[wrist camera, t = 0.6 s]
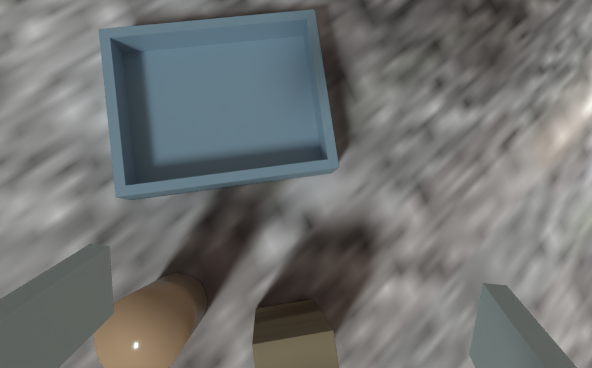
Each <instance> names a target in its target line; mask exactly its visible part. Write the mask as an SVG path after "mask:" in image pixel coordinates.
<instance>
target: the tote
mask: <svg viewBox="0 0 592 368" xmlns="http://www.w3.org/2000/svg"><path fill="white" fill-rule="evenodd" d="M99 37H100V47H101V56H102V66H103V76H104V86H105V96H106V105H107V115H108V125H109V135H110V145H111V154H112V164H113V174H114V184H115V194H116V197H117V198H123V199H129V200H135V199H142V198H150V197H157V196H165V195H172V194H180V193H187V192H195V191H202V190H210V189H217V188H224V187H232V186H239V185H247V184H254V183H262V182H269V181H277V180H284V179H292V178H299V177H307V176H314V175H321V174H329V173H333V172H334V171H335V170H337V169H338V168H339V163H338V157H337V151H336V144H335V138H334V131H333V125H332V118H331V112H330V105H329V99H328V92H327V86H326V79H325V73H324V67H323V60H322V54H321V47H320V41H319V34H318V28H317V21H316V15H315V9H311V10H301V11H290V12H279V13H268V14H258V15H247V16H236V17H225V18H215V19H204V20H193V21H182V22H171V23H161V24H150V25H139V26H128V27H118V28H107V29H99Z"/></svg>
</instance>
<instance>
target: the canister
mask: <svg viewBox="0 0 592 368" xmlns="http://www.w3.org/2000/svg"><path fill="white" fill-rule="evenodd" d="M113 306H114V314H113V315H112V316H111V317H110V318H109V319H108V320H107V321H106V322H105V323H104V324H103V325H102V326H101V327H100V328H99V329H98V330H97V331H96V332H95V349H96V353H97V356H98V358H99V361H100V362H101V364H102V365H103V367H104V368H169V367H170V366H171V364H172V363H173V362H174V360H175V359H176V357H177V356H178V354H179V353H180V351H181V350H182V348H183V347H184V345H185V344H186V342H187V341H188V339H189V338H190V336H191V334H192V333H193V331H194V330H195V328H196V327H197V325H198V324H199V322H200V321H201V319H202V318H203V316H204V314H205V311H206V306H207V298H206V293H205V290H204V288H203V287H202V285H201V284H200V283H199V281H197V280H196V279H195V278H193V277H192V276H190V275H187V274H183V273H173V274H169V275H166V276H164V277H162V278H160V279H158V280H156V281H154V282H152V283H151V284H149V285H147V286H145V287H143V288H141V289H139V290H137V291H135V292H133V293H132V294H130V295H128V296H126V297H124V298H122V299H120V300H118V301H117V302H115V303H114V304H113Z"/></svg>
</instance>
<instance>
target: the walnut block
mask: <svg viewBox="0 0 592 368" xmlns="http://www.w3.org/2000/svg"><path fill="white" fill-rule="evenodd" d="M252 345H253V353H254V361H255V368H339V364H338V357H337V350H336V344H335V337H334V330H333V329H332V327H331V326H330V324H329V323H328V321H327V320H326V318H325V317H324V315H323V314H322V312H321V310H320V309H319V307H318V306H317V304H316V303H315V301H314V300H313V299H310V300H304V301H298V302H292V303H286V304H280V305H274V306H268V307H262V308H256V311H255V322H254V333H253V344H252Z"/></svg>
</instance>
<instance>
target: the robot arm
mask: <svg viewBox="0 0 592 368" xmlns="http://www.w3.org/2000/svg"><path fill="white" fill-rule="evenodd" d="M113 314H114V306H113V290H112V275H111V259H110V246H104V245H94V244H89V245H88V246H86V247H84V248H83V249H81V250H79V251H78V252H76V253H75V254H73V255H71V256H70V257H68V258H66V259H65V260H63V261H62V262H60V263H58V264H57V265H55V266H53V267H52V268H50V269H49V270H47V271H45V272H44V273H42V274H40V275H39V276H37V277H36V278H34V279H32V280H31V281H29V282H27V283H26V284H24V285H23V286H21V287H19V288H18V289H16V290H14V291H13V292H11V293H10V294H8V295H6V296H5V297H3V298H1V299H0V368H59V367H60V366H61V365H62V364H63V363H64V362H65V361H66V360H67V359H68V358H69V357H70V356H71V355H72V354H73V353H74V352H75V351H76V350H77V349H78V348H79V347H80V346H81V345H82V344H83V343H84V342H85V341H86V340H87V339H88V338H89V337H90V336H91V335H92V334H93V333H94V332H96V331H97V330H98V329H99V328H100V327H101V326H102V325H103V324H104V323H105V322H106V321H107V320H108V319H109V318H110V317H111V316H112V315H113ZM469 355H470V357H471V359H472V361H473V363H474V365H475V367H476V368H577V367H576V366H575V365H574V364H573V362H572V361H571V360H570V359H569V358H568V357H567V355H566V354H565V353H564V352H563V351H562V350H561V348H560V347H559V346H558V345H557V344H556V343H555V341H554V340H553V339H552V338H551V337H550V336H549V334H548V333H547V332H546V331H545V330H544V329H543V327H542V326H541V325H540V324H539V323H538V322H537V320H536V319H535V318H534V317H533V316H532V315H531V313H530V312H529V311H528V310H527V309H526V308H525V306H524V305H523V304H522V303H521V302H520V301H519V299H518V298H517V297H516V296H515V295H514V294H513V292H512V291H511V290H510V289H509V288H508V287H507V286H506V285H496V284H486V283H483V284H482V289H481V295H480V300H479V305H478V311H477V316H476V321H475V326H474V332H473V337H472V342H471V348H470V353H469Z"/></svg>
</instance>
